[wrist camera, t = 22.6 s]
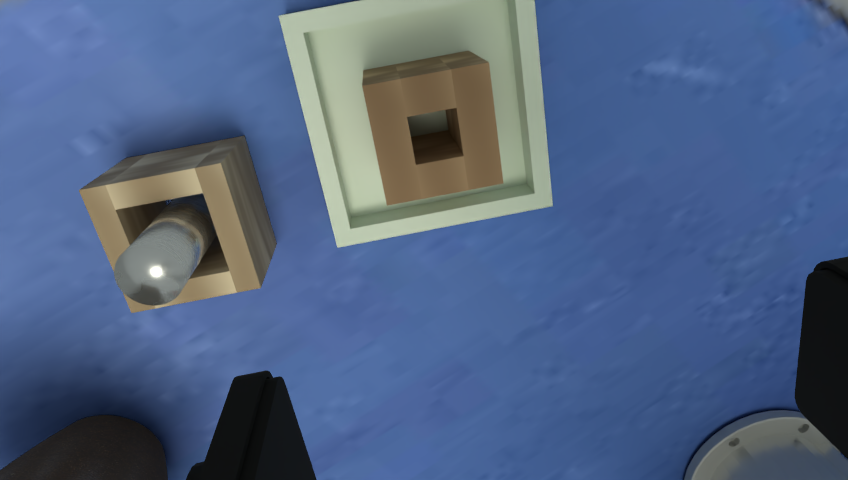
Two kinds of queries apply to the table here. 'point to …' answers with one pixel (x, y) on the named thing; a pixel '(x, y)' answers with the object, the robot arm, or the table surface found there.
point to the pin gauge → (166, 252)
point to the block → (441, 151)
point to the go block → (178, 177)
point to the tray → (350, 127)
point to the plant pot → (93, 453)
